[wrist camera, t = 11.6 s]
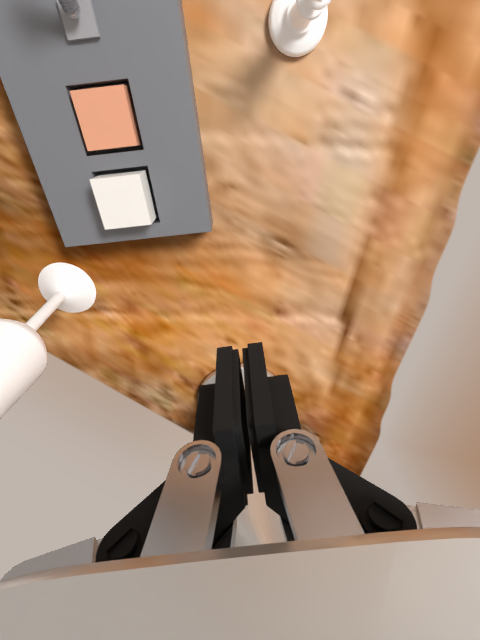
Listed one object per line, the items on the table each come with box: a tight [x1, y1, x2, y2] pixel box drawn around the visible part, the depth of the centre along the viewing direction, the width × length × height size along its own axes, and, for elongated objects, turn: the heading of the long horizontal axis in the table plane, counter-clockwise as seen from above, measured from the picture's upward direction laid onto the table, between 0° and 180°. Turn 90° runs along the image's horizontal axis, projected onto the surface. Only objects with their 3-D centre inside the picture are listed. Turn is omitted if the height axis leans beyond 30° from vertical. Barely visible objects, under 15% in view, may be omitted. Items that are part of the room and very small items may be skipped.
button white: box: [89, 170, 156, 230], centre depth 31 cm, size 4×4×2 cm
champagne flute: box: [0, 263, 96, 419], centre depth 30 cm, size 7×7×24 cm
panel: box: [0, 0, 213, 247], centre depth 30 cm, size 21×15×4 cm
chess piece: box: [268, 0, 331, 57], centre depth 24 cm, size 5×5×10 cm
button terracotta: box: [70, 84, 143, 151], centre depth 29 cm, size 4×4×2 cm
